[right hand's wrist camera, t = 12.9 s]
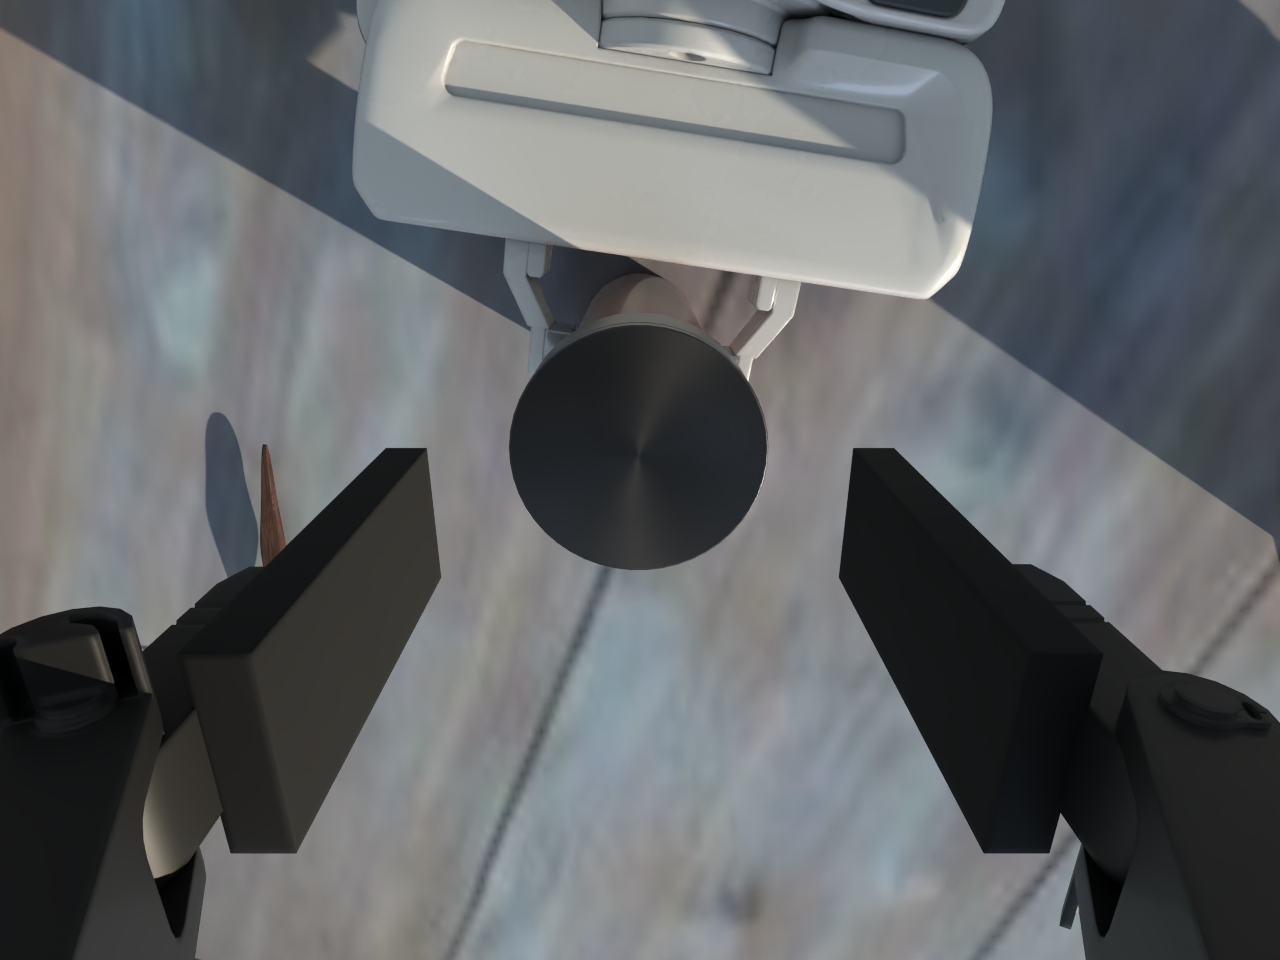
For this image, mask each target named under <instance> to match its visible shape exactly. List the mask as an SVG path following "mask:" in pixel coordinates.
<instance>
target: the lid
mask: <svg viewBox="0 0 1280 960" xmlns="http://www.w3.org/2000/svg"><path fill="white" fill-rule="evenodd" d="M509 453H510V465H511V469H512V474H513V479H514V482H515V485H516V487H517V490H518V493H519V495H520V497H521V499H522V501H523V503H524V505H525V507H526V508H527V510H528V511H529V513H530V514H531V516H532V517H533V519H534V520H535V521H536V522H537V524H538V525H539V526H540V527H541V528H542V529H543V530H544V531H545V532H546V533H547V534H548V535H549V536H550V537H551V538H552V539H554V540H555V541H556V542H557V543H558V544H560V545H561V546H563V547H564V548H566V549H567V550H569V551H570V552H572V553H574V554H576V555H578V556H580V557H582V558H584V559H586V560H589V561H592V562H594V563H597V564H600V565H604V566H609V567H613V568H619V569H627V570H650V569H659V568H665V567H669V566H673V565H678V564H680V563H683V562H686V561H689V560H691V559H694V558H696V557H698V556H700V555H702V554H704V553H706V552H707V551H709V550H710V549H712V548H713V547H715V546H716V545H718V544H719V543H720V542H722V541H723V540H724V539H725V538H726V537H727V536H729V535H730V534H731V533H732V532H733V531H734V530H735V529H736V528H737V526H738V525H739V524H740V523H741V522H742V521H743V519H744V518H745V516H746V515H747V514H748V512H749V511H750V509H751V508H752V506H753V504H754V502H755V500H756V498H757V496H758V494H759V491H760V489H761V486H762V483H763V480H764V476H765V471H766V467H767V459H768V436H767V428H766V423H765V419H764V415H763V412H762V409H761V406H760V404H759V401H758V399H757V397H756V395H755V393H754V391H753V389H752V387H751V385H750V384H749V382H748V380H747V379H746V377H745V375H744V373H743V372H742V370H741V368H740V367H739V365H738V364H737V363H736V361H735V360H734V359H733V357H732V356H731V355H730V353H729V352H728V351H727V350H726V349H725V348H724V347H723V346H722V345H721V344H720V343H719V342H717V341H716V340H715V339H714V338H712V337H711V336H710V335H709V334H707V333H706V332H704V331H702V330H701V329H699V328H697V327H696V326H694V325H692V324H689V323H687V322H684V321H682V320H680V319H677V318H673V317H669V316H666V315H661V314H653V313H624V314H617V315H612V316H608V317H605V318H601V319H598V320H595V321H593V322H591V323H588V324H586V325H584V326H582V327H580V328H579V329H577V330H575V331H574V332H572V333H570V334H569V335H568V336H566V337H565V338H564V339H563V340H561V341H560V342H559V343H558V344H557V345H556V346H555V347H554V348H553V349H552V350H551V351H550V352H549V353H548V354H547V355H546V357H545V358H544V359H543V361H542V362H541V363H540V365H539V366H538V368H537V369H536V371H535V373H534V374H533V376H532V378H531V379H530V381H529V382H528V384H527V386H526V388H525V390H524V392H523V393H522V395H521V397H520V399H519V402H518V404H517V407H516V410H515V413H514V416H513V420H512V425H511V430H510V441H509Z"/></svg>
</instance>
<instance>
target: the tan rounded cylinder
mask: <svg viewBox="0 0 1280 960" xmlns="http://www.w3.org/2000/svg"><path fill="white" fill-rule="evenodd" d="M624 313H653V314H661V315H666V316H669V317H673V318H677V319H680V320H682V321H684V322H687V323H689V324H692V325H694V326H696V327H697V328H699V329H701V327H700V325H699V323H698V321H697V319H696V317H695V315H694V312H693V310H692V308H691V306H690V304H689V302H688V300H687V299H686V297H685V296H684V295H683V293H682V292H681V291H680V290H679V289H678V288H677V287H675V286H674V285H673V284H672V283H670V282H668V281H667V280H665V279H663V278H661V277H658V276H655V275H651V274H644V273H635V274H628V275H625V276H621V277H619V278H616V279H614V280H612V281H611V282H609V283H608V284H606V285H605V286H604V287H602V288H601V289H600V290H599V292H598V293H597V294H596V295H595V296H594V298H593V299H592V301H591V303H590V305H589V307H588V309H587V311H586V313H585V315H584V317H583V319H582V321H581V323H580V325H579V327H578V329H579V328H580V327H582V326H584V325H586V324H588V323H591V322H593V321H595V320H598V319H601V318H605V317H608V316H612V315H617V314H624Z"/></svg>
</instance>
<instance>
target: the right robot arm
mask: <svg viewBox="0 0 1280 960" xmlns="http://www.w3.org/2000/svg"><path fill="white" fill-rule="evenodd" d="M440 579H441V572H440V563H439V554H438V545H437V536H436V527H435V518H434V509H433V500H432V491H431V482H430V474H429V465H428V456H427V448H386V449H385V450H384V451H383V452H382V453H381V454H380V455H379V456H378V457H376V458H375V459H374V460H373V461H372V462H371V463H370V464H369V465H368V466H367V467H366V468H365V469H364V470H363V471H362V472H361V473H360V474H359V475H358V476H357V477H356V478H355V479H354V480H353V481H352V482H351V483H350V484H349V485H348V486H347V487H346V488H345V489H344V490H343V491H342V492H341V493H340V494H339V495H338V496H337V497H336V498H335V499H334V500H333V501H332V502H331V503H330V504H329V505H328V506H327V507H326V508H325V509H323V510H322V511H321V512H320V513H319V514H318V515H317V516H316V517H315V518H314V519H313V520H312V521H311V522H310V523H309V524H308V525H307V526H306V527H305V528H304V529H303V530H302V531H301V532H300V533H299V534H298V535H297V536H296V537H295V538H294V539H293V540H292V541H291V542H290V543H289V544H288V545H287V546H286V547H285V548H284V549H283V550H282V551H281V552H280V553H279V554H278V555H277V556H276V557H275V558H274V559H273V560H272V561H271V562H269V563H268V564H267V565H266V566H265V567H248V568H246V569H244V570H242V571H241V572H239V573H237V574H235V575H233V576H231V577H229V578H227V579H225V580H223V581H221V582H220V583H218V584H216V585H215V586H214V587H213V588H212V589H211V590H210V591H209V592H207V593H206V594H205V595H204V596H203V597H202V598H201V599H200V600H199V601H198V602H196V603H195V608H190V609H189V610H188V611H187V612H185V613H184V614H183V615H182V616H181V617H180V618H179V619H178V620H177V623H176V625H171V626H170V627H169V628H168V629H167V630H166V631H165V632H164V633H162V634H161V635H160V636H159V637H158V638H157V639H156V640H155V641H154V642H153V643H151V644H150V645H149V646H148V647H147V648H146V649H145V650H144V651H143V652H142V648H141V645H140V642H139V638H138V635H137V631H136V628H135V624H134V621H133V618H132V616H131V615H130V614H128V613H126V612H125V611H123V610H121V609H117V608H108V607H90V608H80V609H71V610H67V611H63V612H59V613H55V614H50V615H46V616H42V617H39V618H37V619H34V620H31V621H29V622H26V623H24V624H21V625H18V626H16V627H13V628H11V629H9V630H7V631H5V632H4V633H2V634H0V960H195V952H196V945H197V938H198V931H199V924H200V917H201V910H202V903H203V896H204V889H205V882H206V872H205V866H204V861H203V857H202V854H201V850H200V847H199V846H200V844H201V843H202V841H203V840H204V838H205V837H206V835H207V834H208V832H209V831H210V830H211V828H212V827H213V825H214V824H215V822H216V821H217V819H218V818H219V816H221V820H222V823H223V827H224V831H225V834H226V838H227V842H228V845H229V849H230V853H297V851H298V849H299V847H300V845H301V843H302V841H303V839H304V837H305V836H306V834H307V832H308V830H309V828H310V826H311V824H312V822H313V820H314V818H315V817H316V815H317V813H318V811H319V809H320V807H321V805H322V803H323V801H324V799H325V798H326V796H327V794H328V792H329V790H330V788H331V786H332V784H333V782H334V780H335V778H336V777H337V775H338V773H339V771H340V769H341V767H342V765H343V763H344V761H345V759H346V758H347V756H348V754H349V752H350V750H351V748H352V746H353V744H354V742H355V740H356V739H357V737H358V735H359V733H360V731H361V729H362V727H363V725H364V723H365V721H366V719H367V718H368V716H369V714H370V712H371V710H372V708H373V706H374V704H375V702H376V700H377V699H378V697H379V695H380V693H381V691H382V689H383V687H384V685H385V683H386V681H387V680H388V678H389V676H390V674H391V672H392V670H393V668H394V666H395V664H396V662H397V660H398V659H399V657H400V655H401V653H402V651H403V649H404V647H405V645H406V643H407V641H408V640H409V638H410V636H411V634H412V632H413V630H414V628H415V626H416V624H417V622H418V621H419V619H420V617H421V615H422V613H423V611H424V609H425V607H426V605H427V603H428V601H429V600H430V598H431V596H432V594H433V592H434V590H435V588H436V586H437V584H438V582H439V581H440ZM839 579H840V581H841V582H842V584H843V586H844V588H845V590H846V592H847V594H848V596H849V598H850V600H851V601H852V603H853V605H854V607H855V609H856V611H857V613H858V615H859V617H860V619H861V621H862V622H863V624H864V626H865V628H866V630H867V632H868V634H869V636H870V638H871V640H872V641H873V643H874V645H875V647H876V649H877V651H878V653H879V655H880V657H881V659H882V660H883V662H884V664H885V666H886V668H887V670H888V672H889V674H890V676H891V678H892V680H893V681H894V683H895V685H896V687H897V689H898V691H899V693H900V695H901V697H902V699H903V700H904V702H905V704H906V706H907V708H908V710H909V712H910V714H911V716H912V718H913V719H914V721H915V723H916V725H917V727H918V729H919V731H920V733H921V735H922V737H923V739H924V740H925V742H926V744H927V746H928V748H929V750H930V752H931V754H932V756H933V758H934V759H935V761H936V763H937V765H938V767H939V769H940V771H941V773H942V775H943V777H944V778H945V780H946V782H947V784H948V786H949V788H950V790H951V792H952V794H953V796H954V798H955V799H956V801H957V803H958V805H959V807H960V809H961V811H962V813H963V815H964V817H965V818H966V820H967V822H968V824H969V826H970V828H971V830H972V832H973V834H974V836H975V837H976V839H977V841H978V843H979V845H980V847H981V849H982V851H983V853H1050V849H1051V845H1052V842H1053V838H1054V834H1055V831H1056V827H1057V823H1058V820H1059V816H1060V812H1061V814H1062V815H1063V817H1064V818H1065V820H1066V821H1067V823H1068V824H1069V826H1070V827H1071V828H1072V830H1073V831H1074V833H1075V834H1076V836H1077V837H1078V839H1079V840H1080V842H1081V843H1082V844H1081V847H1080V850H1079V854H1078V857H1077V861H1076V864H1075V868H1074V871H1073V874H1072V878H1071V881H1070V885H1069V888H1068V892H1067V895H1066V898H1065V902H1064V905H1063V909H1062V914H1061V920H1060V926H1062V927H1065V928H1068V929H1071V927H1072V923H1073V920H1074V917H1075V914H1076V913H1077V912H1078V911H1079V915H1080V922H1081V929H1082V936H1083V943H1084V950H1085V957H1086V960H1280V723H1279V722H1278V720H1277V719H1276V718H1275V717H1274V716H1273V715H1272V714H1271V713H1270V712H1269V710H1267V709H1266V708H1264V707H1263V706H1261V705H1260V704H1258V703H1257V702H1255V701H1254V700H1252V699H1251V698H1249V697H1248V696H1246V695H1245V694H1243V693H1240V692H1238V691H1236V690H1234V689H1232V688H1229V687H1227V686H1225V685H1223V684H1220V683H1218V682H1216V681H1212V680H1209V679H1205V678H1202V677H1198V676H1195V675H1191V674H1188V673H1180V672H1171V671H1162V670H1161V669H1160V668H1159V667H1158V666H1157V665H1156V664H1155V663H1154V662H1152V661H1151V660H1150V659H1149V658H1148V657H1147V656H1146V655H1145V654H1144V653H1143V652H1141V651H1140V650H1139V649H1138V648H1137V647H1136V646H1135V645H1134V644H1133V643H1131V642H1130V641H1129V640H1128V639H1127V638H1126V637H1125V636H1124V635H1123V634H1121V633H1120V632H1119V631H1118V630H1117V629H1116V628H1115V627H1114V626H1113V625H1111V624H1110V623H1109V622H1104V617H1103V616H1102V615H1100V614H1099V613H1098V612H1097V611H1096V610H1095V609H1094V608H1093V607H1092V606H1090V605H1086V601H1085V600H1084V599H1083V598H1082V597H1080V596H1079V595H1078V594H1077V593H1076V592H1075V591H1074V590H1073V589H1072V588H1070V587H1069V586H1068V585H1067V584H1066V583H1065V582H1064V581H1062V580H1060V579H1058V578H1056V577H1054V576H1052V575H1051V574H1049V573H1047V572H1045V571H1043V570H1041V569H1039V568H1037V567H1035V566H1033V565H1031V564H1012V563H1011V562H1009V561H1008V560H1007V559H1006V558H1005V557H1004V556H1003V555H1002V554H1001V553H1000V552H999V551H998V550H997V549H996V548H995V547H994V546H993V545H992V544H991V543H990V542H989V541H988V540H987V539H986V538H985V537H984V536H983V535H982V534H981V533H980V532H979V531H978V530H977V529H976V528H975V527H974V526H973V525H972V524H971V523H970V522H969V521H968V520H967V519H966V518H965V517H964V516H963V515H962V514H961V513H960V512H959V511H958V510H957V509H955V508H954V507H953V506H952V505H951V504H950V503H949V502H948V501H947V500H946V499H945V498H944V497H943V496H942V495H941V494H940V493H939V492H938V491H937V490H936V489H935V488H934V487H933V486H932V485H931V484H930V483H929V482H928V481H927V480H926V479H925V478H924V477H923V476H922V475H921V474H920V473H919V472H918V471H917V470H916V469H915V468H914V467H913V466H912V465H911V464H910V463H909V462H908V461H907V460H906V459H905V458H904V457H902V456H901V455H900V454H899V453H898V452H897V451H896V450H895V449H894V448H853V456H852V465H851V473H850V482H849V491H848V500H847V509H846V518H845V527H844V536H843V545H842V554H841V563H840V572H839Z"/></svg>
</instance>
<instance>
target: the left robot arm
mask: <svg viewBox="0 0 1280 960" xmlns="http://www.w3.org/2000/svg"><path fill="white" fill-rule="evenodd" d="M1004 3H1005V0H357V18H358V24H359V29H360V32H361V35H362V37H363V39H364V41H365V44H366V45H365V50H364V56H363V62H362V69H361V75H360V82H359V90H358V97H357V106H356V117H355V128H354V142H353V160H352V175H353V183H354V186H355V188H356V190H357V191H358V193H359V194H360V196H361V197H362V199H363V200H364V202H365V203H366V205H367V206H368V208H369V209H370V211H371V212H372V213H373V215H374V216H375V217H377V218H379V219H381V220H387V221H393V222H400V223H407V224H413V225H420V226H427V227H434V228H440V229H447V230H454V231H461V232H467V233H474V234H481V235H488V236H495V237H501V238H506V239H505V253H504V267H503V274H504V276H505V278H506V281H507V283H508V285H509V287H510V289H511V291H512V293H513V296H514V298H515V300H516V302H517V304H518V306H519V308H520V311H521V313H522V315H523V317H524V319H525V321H526V323H527V326H530V327H531V335H530V347H529V359H528V373H529V374H534V373H535V371H536V369H537V368H538V366H539V365H540V363H541V362H542V361H543V359H544V358H545V357H546V355H547V354H548V353H549V352H550V351H551V350H552V349H553V348H554V347H555V346H556V345H557V344H558V343H559V342H560V341H561V340H563V339H564V338H565V337H566V336H568V335H569V334H570V333H572V332H574V331H575V330H576V325H572V324H566V323H560V322H554V321H555V320H554V317H553V315H552V313H551V310H550V308H549V305H548V303H547V301H546V298H545V296H544V293H543V291H542V289H541V286H540V284H539V282H538V279H537V278H541V277H542V276H543V275H544V274H546V273H547V272H548V271H550V270H551V261H552V251H553V245H555V246H562V247H569V248H576V249H583V250H589V251H596V252H603V253H610V254H616V255H623V256H630V257H637V258H643V259H650V260H657V261H664V262H671V263H677V264H684V265H691V266H698V267H704V268H711V269H718V270H725V271H731V272H738V273H745V274H752V277H751V282H750V288H749V294H748V300H749V301H750V302H751V303H752V304H753V305H754V306H755V307H756V308H757V309H758V311H757V312H756V313H755V314H754V316H753V317H752V318H751V319H750V321H749V322H748V323H747V324H746V326H745V327H744V328H743V329H742V331H741V332H740V333H739V334H738V336H737V337H736V338H735V339H734V341H733V342H732V343H731V344H730V347H728V346H723V347H724V348H725V349H726V350H727V351H728V352H729V353H730V355H731V356H732V357H733V359H734V360H735V361H736V363H737V364H738V365H739V367H740V368H741V370H742V372H743V373H744V375H745V377H746V379H747V380H749V375H750V370H751V365H752V360H753V358H757V357H758V356H759V355H760V354H761V353H762V351H763V350H764V349H765V348H766V347H767V346H768V345H769V343H770V342H771V341H772V340H773V339H774V338H775V337H776V335H777V334H778V333H779V332H780V331H781V330H782V329H783V327H784V326H785V325H786V324H787V323H788V322H789V321H790V319H791V318H792V317H793V316H794V312H795V307H796V303H797V298H798V294H799V289H800V285H801V282H806V283H813V284H819V285H826V286H833V287H840V288H847V289H853V290H860V291H867V292H874V293H880V294H887V295H894V296H901V297H908V298H915V299H927V298H929V297H931V296H932V295H934V294H935V293H936V292H937V291H938V290H940V289H941V288H942V287H943V286H944V285H945V284H946V283H947V282H948V281H949V280H951V279H952V278H953V277H954V276H955V275H956V273H957V272H958V270H959V268H960V266H961V263H962V261H963V258H964V255H965V252H966V249H967V245H968V241H969V238H970V234H971V230H972V226H973V222H974V218H975V214H976V210H977V206H978V201H979V196H980V192H981V187H982V182H983V176H984V171H985V166H986V160H987V154H988V147H989V141H990V134H991V127H992V116H993V99H992V90H991V85H990V81H989V77H988V74H987V72H986V70H985V68H984V66H983V64H982V63H981V61H980V60H979V59H978V58H977V56H976V55H975V54H974V53H973V52H971V51H970V50H969V49H968V48H966V47H964V46H966V45H968V44H969V43H971V42H973V41H974V40H976V39H977V38H978V37H980V36H981V35H982V34H984V33H985V32H986V31H988V30H989V29H990V28H991V27H992V26H993V25H994V24H995V22H996V21H997V19H998V17H999V15H1000V13H1001V11H1002V8H1003V6H1004Z"/></svg>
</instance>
